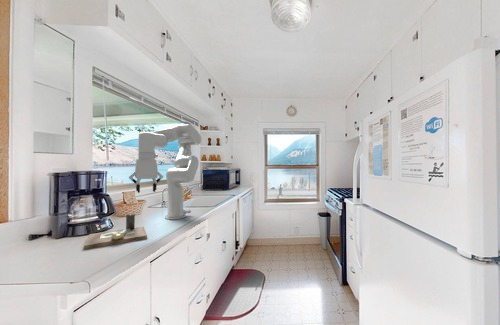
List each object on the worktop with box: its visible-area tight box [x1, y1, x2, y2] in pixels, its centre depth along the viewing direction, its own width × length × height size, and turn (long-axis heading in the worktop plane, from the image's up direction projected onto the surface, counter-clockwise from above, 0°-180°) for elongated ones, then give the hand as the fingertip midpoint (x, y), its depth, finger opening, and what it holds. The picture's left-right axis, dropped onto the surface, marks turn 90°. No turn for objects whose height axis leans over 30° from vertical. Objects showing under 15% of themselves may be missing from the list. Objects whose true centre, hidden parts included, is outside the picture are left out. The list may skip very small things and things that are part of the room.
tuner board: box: [83, 226, 148, 250], centre depth 92 cm, size 22×16×2 cm
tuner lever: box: [112, 213, 136, 240], centre depth 93 cm, size 16×4×7 cm, turn 8°
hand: (146, 191), depth 104 cm, fingers open, 6 cm apart
